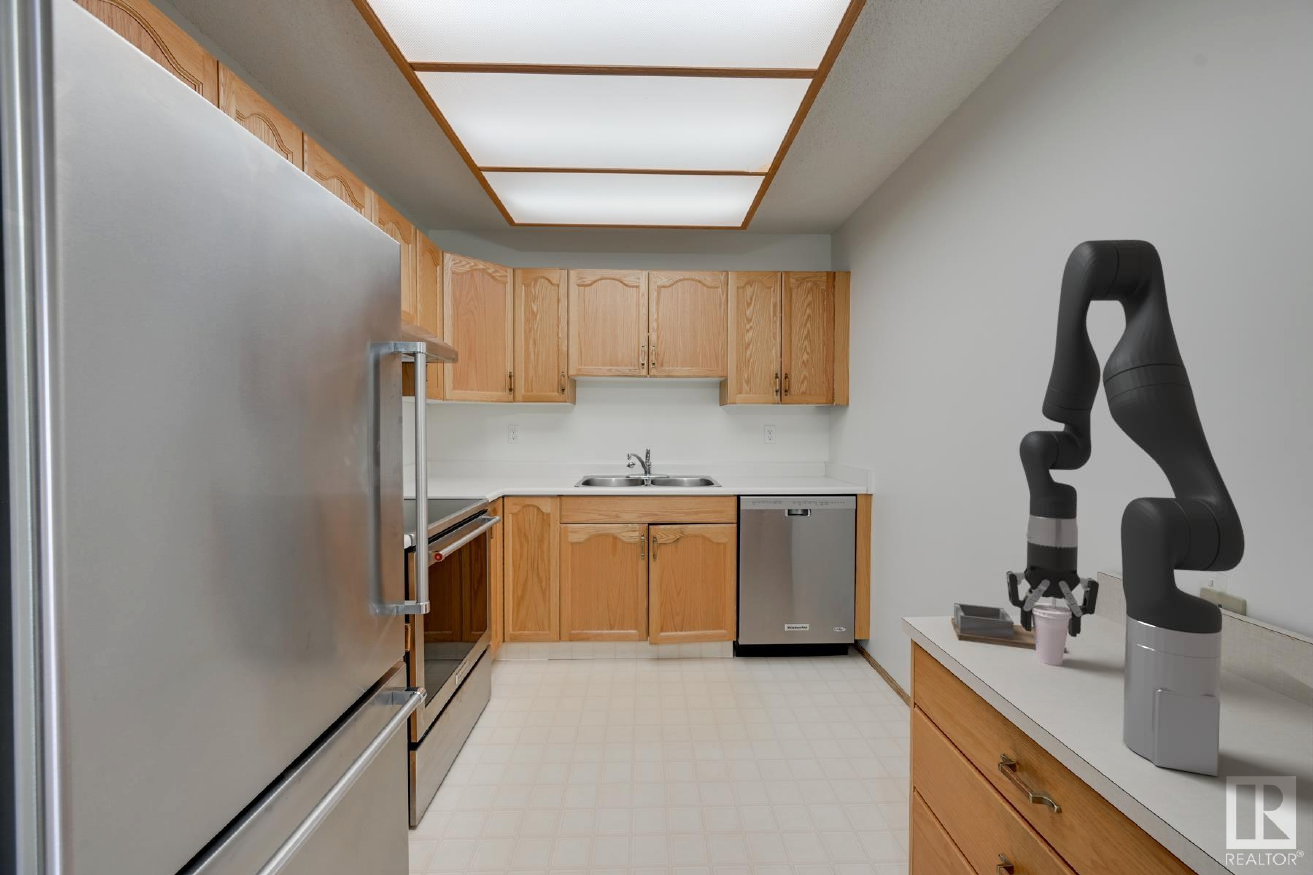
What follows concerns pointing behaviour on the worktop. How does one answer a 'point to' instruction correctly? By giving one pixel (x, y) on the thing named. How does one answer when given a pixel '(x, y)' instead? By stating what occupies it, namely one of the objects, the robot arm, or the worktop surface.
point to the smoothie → (1050, 631)
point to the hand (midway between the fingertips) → (1049, 632)
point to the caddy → (990, 626)
